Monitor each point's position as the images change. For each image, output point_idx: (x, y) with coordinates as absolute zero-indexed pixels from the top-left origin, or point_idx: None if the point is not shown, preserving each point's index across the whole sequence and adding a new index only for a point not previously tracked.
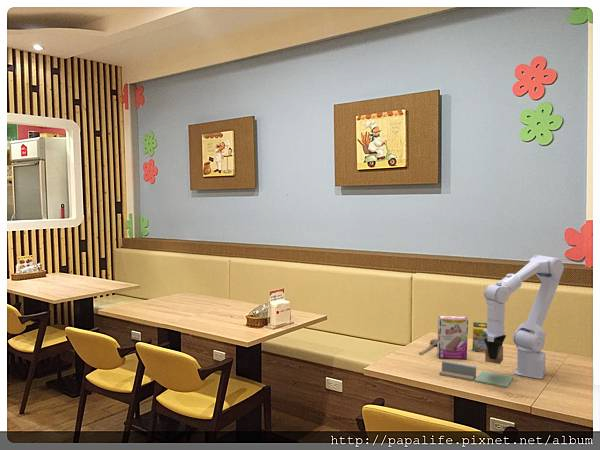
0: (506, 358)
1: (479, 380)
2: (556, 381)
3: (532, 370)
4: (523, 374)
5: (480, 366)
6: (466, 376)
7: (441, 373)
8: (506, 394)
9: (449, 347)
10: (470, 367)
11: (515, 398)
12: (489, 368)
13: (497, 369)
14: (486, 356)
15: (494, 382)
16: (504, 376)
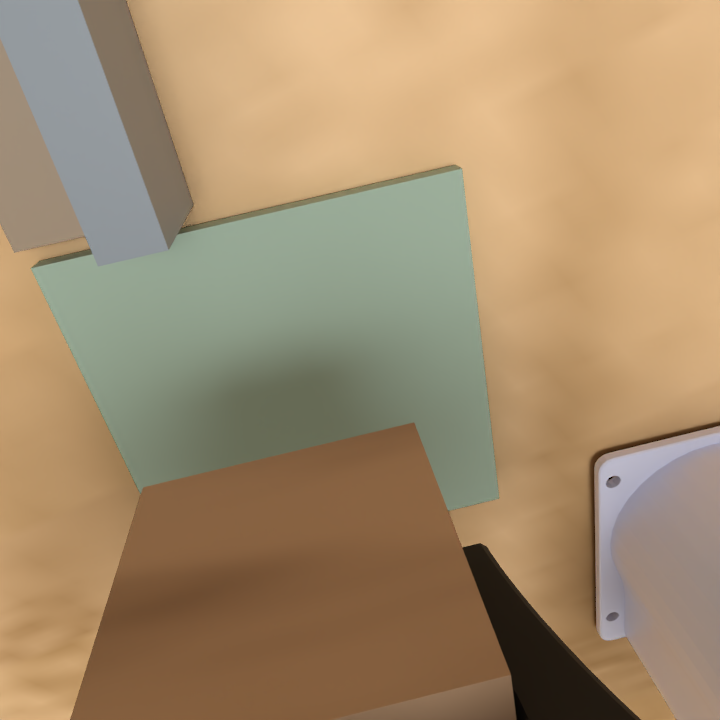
0: None
1: (71, 326)
2: (615, 689)
3: (649, 623)
4: (611, 529)
5: (698, 19)
6: (23, 125)
7: None
8: (16, 625)
9: None
10: (63, 180)
11: (3, 694)
12: (671, 165)
13: (681, 258)
14: (130, 587)
15: (167, 465)
16: (432, 449)
